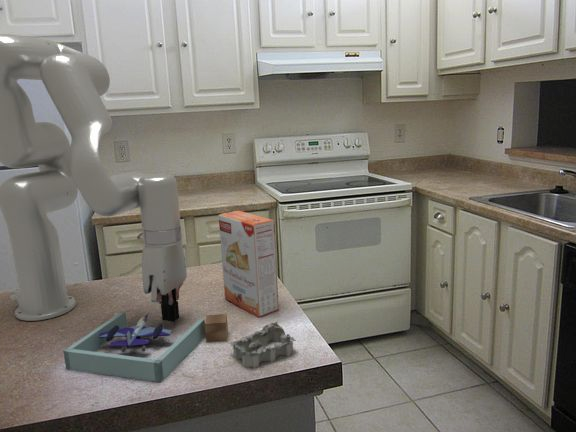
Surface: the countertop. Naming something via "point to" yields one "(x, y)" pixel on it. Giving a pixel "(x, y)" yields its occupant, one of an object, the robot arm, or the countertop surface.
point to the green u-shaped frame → (88, 360)
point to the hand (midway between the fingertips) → (171, 319)
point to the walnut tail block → (216, 328)
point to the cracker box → (249, 261)
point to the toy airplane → (134, 334)
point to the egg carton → (252, 345)
